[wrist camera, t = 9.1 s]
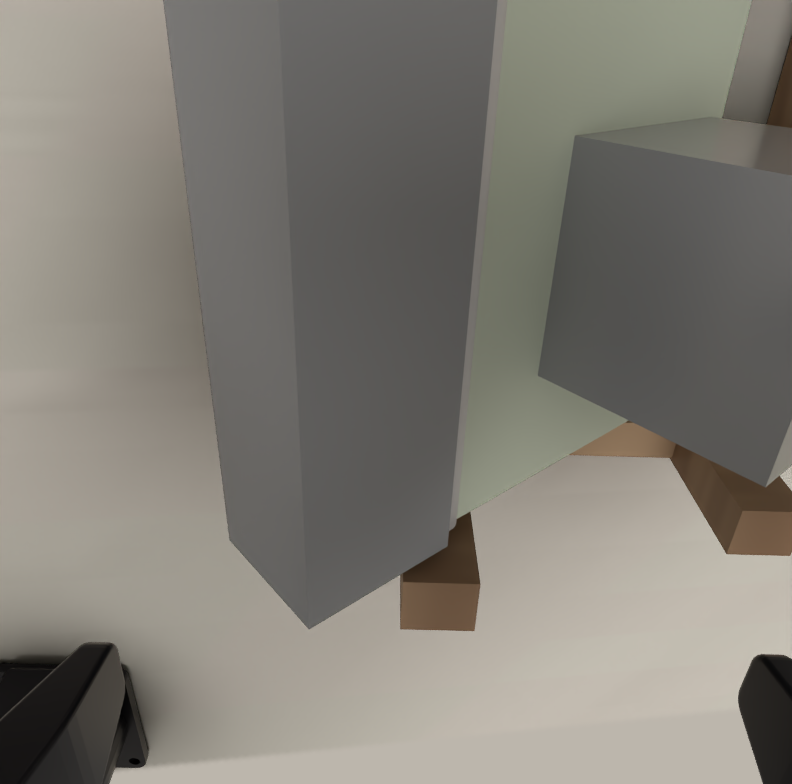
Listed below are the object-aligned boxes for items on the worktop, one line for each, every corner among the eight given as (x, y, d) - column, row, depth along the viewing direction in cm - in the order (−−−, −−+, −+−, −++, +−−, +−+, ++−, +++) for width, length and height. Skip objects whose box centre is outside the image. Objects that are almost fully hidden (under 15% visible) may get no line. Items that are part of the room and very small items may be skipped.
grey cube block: (660, 320, 18) (870, 398, 14) (537, 376, 15) (765, 487, 12) (710, 116, 15) (979, 154, 12) (574, 135, 12) (879, 191, 9)
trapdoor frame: (253, 413, 22) (178, 623, 15) (202, -156, 15) (-2, -322, 7) (716, 426, 22) (876, 641, 15) (894, -130, 15) (1392, -265, 7)
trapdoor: (229, 543, 14) (309, 632, 12) (150, -111, 9) (271, -137, 7) (576, 378, 21) (662, 419, 19) (656, -47, 16) (789, -51, 14)
